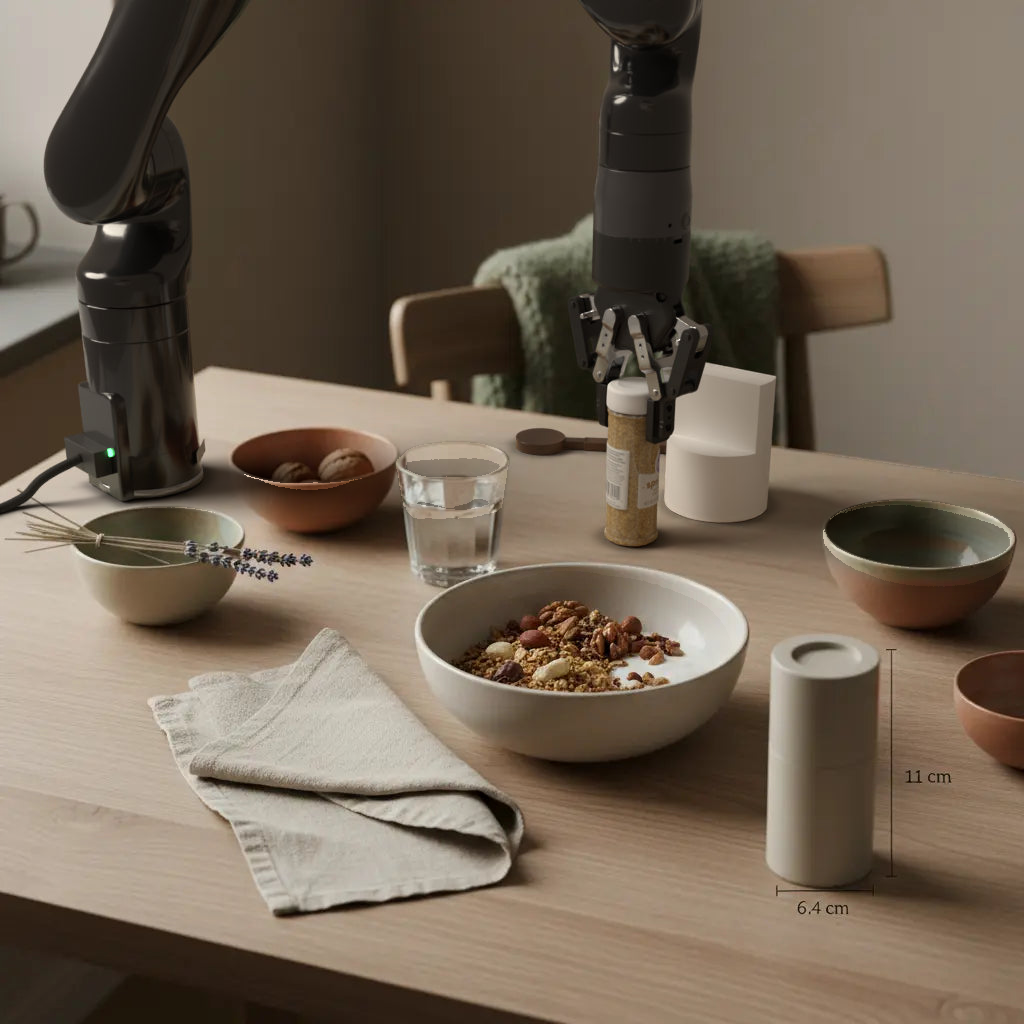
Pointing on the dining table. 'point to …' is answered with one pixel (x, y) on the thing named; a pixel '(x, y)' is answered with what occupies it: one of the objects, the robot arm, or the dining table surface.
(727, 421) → the base with upright slab
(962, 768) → the dining table surface
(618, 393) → the spice jar
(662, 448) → the spoon
